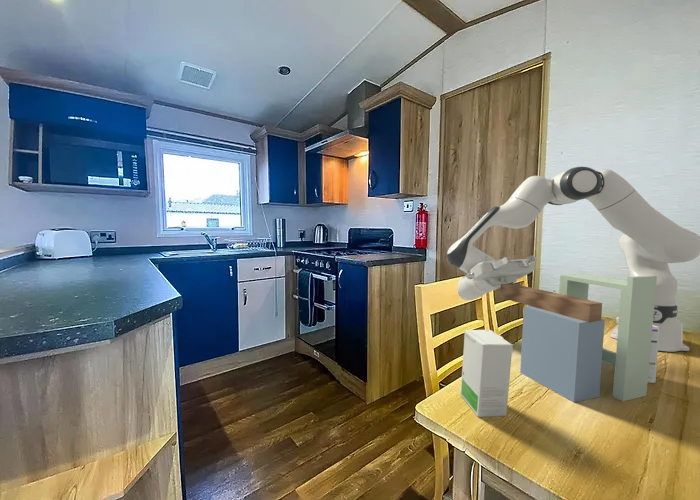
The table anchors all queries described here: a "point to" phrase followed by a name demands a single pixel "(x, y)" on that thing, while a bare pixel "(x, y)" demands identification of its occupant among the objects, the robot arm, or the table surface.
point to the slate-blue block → (562, 353)
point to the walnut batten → (553, 302)
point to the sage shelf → (624, 328)
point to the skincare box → (486, 372)
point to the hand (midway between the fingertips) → (521, 258)
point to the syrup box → (653, 355)
